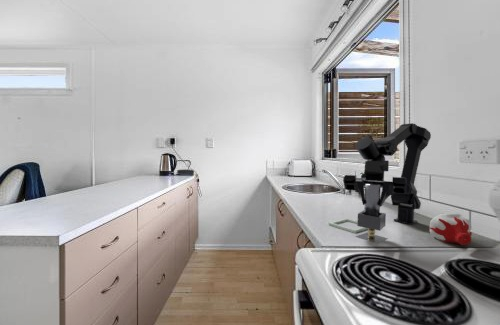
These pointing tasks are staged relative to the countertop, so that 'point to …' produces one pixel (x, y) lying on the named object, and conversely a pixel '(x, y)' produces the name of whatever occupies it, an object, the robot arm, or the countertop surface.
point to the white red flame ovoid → (451, 228)
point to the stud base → (371, 236)
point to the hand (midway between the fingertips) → (371, 205)
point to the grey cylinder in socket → (372, 209)
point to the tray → (346, 227)
